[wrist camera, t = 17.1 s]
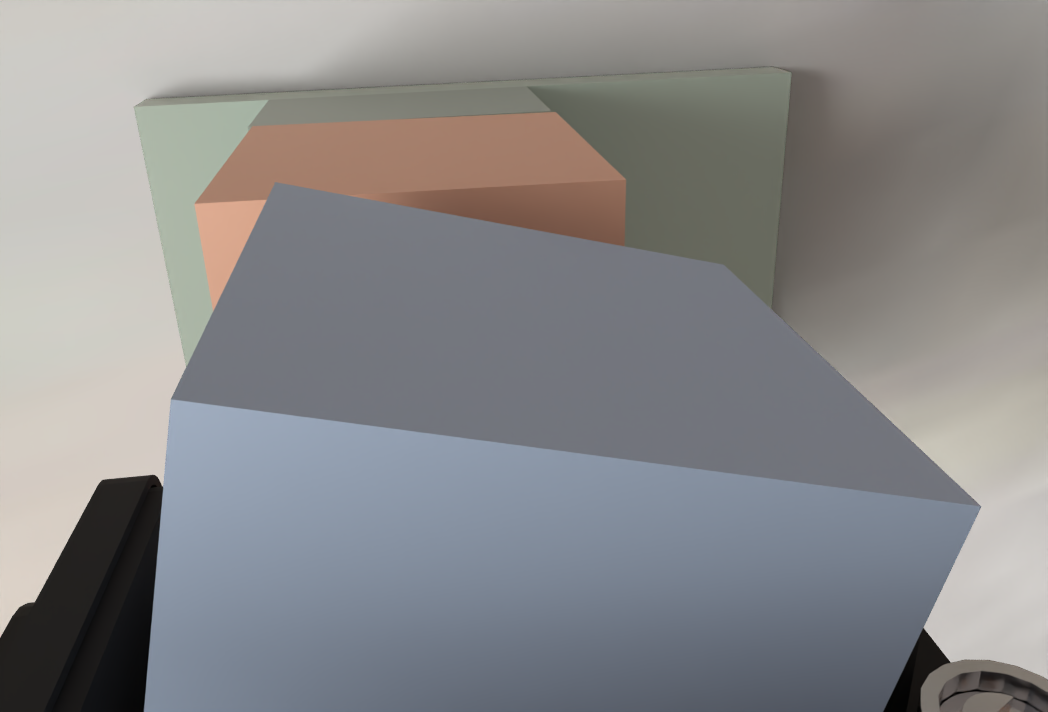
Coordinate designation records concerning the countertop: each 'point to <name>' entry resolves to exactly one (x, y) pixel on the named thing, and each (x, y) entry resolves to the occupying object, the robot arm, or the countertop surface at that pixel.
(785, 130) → the build plate
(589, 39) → the countertop surface
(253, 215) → the terracotta brick
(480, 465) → the slate brick
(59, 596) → the robot arm
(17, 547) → the countertop surface
